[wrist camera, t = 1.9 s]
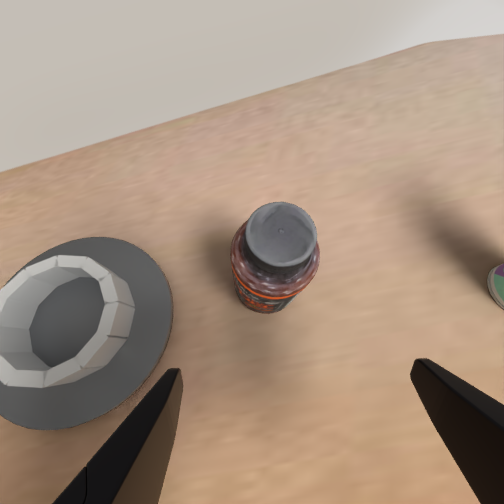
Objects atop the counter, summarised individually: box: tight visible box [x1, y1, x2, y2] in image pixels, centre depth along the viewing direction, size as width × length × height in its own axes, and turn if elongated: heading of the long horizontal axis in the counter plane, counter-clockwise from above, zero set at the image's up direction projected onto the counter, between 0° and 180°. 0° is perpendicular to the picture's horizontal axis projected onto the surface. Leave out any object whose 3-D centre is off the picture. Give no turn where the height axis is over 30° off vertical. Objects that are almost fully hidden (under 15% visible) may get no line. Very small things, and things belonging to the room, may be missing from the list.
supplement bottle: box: [231, 202, 320, 313], centre depth 18 cm, size 6×6×11 cm
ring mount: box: [0, 237, 173, 430], centre depth 20 cm, size 16×16×4 cm
